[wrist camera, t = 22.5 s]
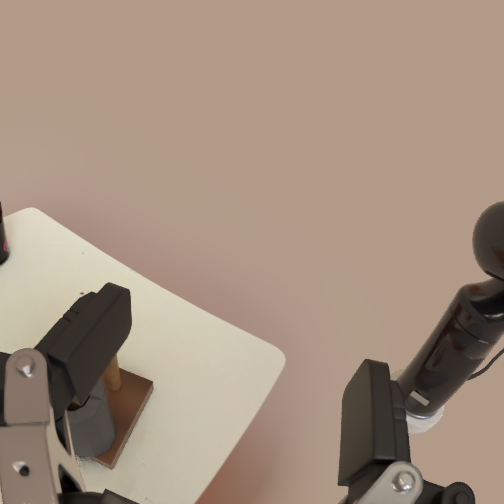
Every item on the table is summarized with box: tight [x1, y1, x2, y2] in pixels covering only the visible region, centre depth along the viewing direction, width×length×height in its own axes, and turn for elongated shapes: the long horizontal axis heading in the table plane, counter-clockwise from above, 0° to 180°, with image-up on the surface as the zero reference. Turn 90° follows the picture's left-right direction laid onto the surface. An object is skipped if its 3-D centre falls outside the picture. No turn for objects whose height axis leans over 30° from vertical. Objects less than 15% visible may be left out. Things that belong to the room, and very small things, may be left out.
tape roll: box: [67, 379, 116, 457], centre depth 24 cm, size 6×6×8 cm
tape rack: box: [67, 354, 154, 469], centre depth 27 cm, size 12×8×10 cm, turn 168°
